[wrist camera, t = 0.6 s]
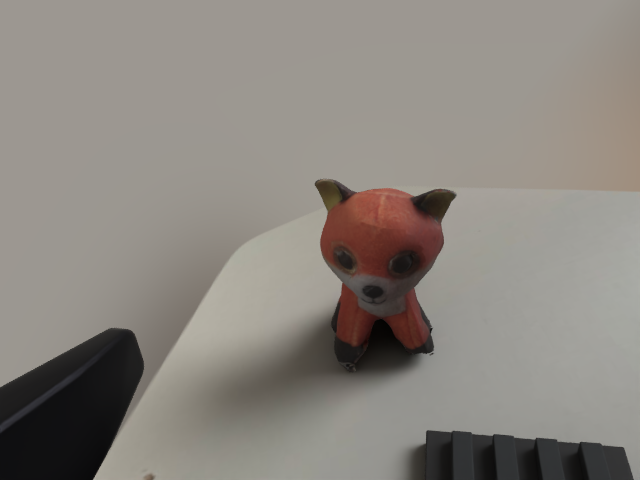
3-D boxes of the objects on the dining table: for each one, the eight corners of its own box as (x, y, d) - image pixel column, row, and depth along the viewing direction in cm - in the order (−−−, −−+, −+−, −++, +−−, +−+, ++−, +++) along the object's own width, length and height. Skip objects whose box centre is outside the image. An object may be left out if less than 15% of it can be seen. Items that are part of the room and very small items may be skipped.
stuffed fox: (448, 275, 41) (454, 122, 35) (449, 393, 32) (457, 217, 26) (348, 272, 43) (335, 125, 36) (321, 384, 34) (298, 214, 27)
